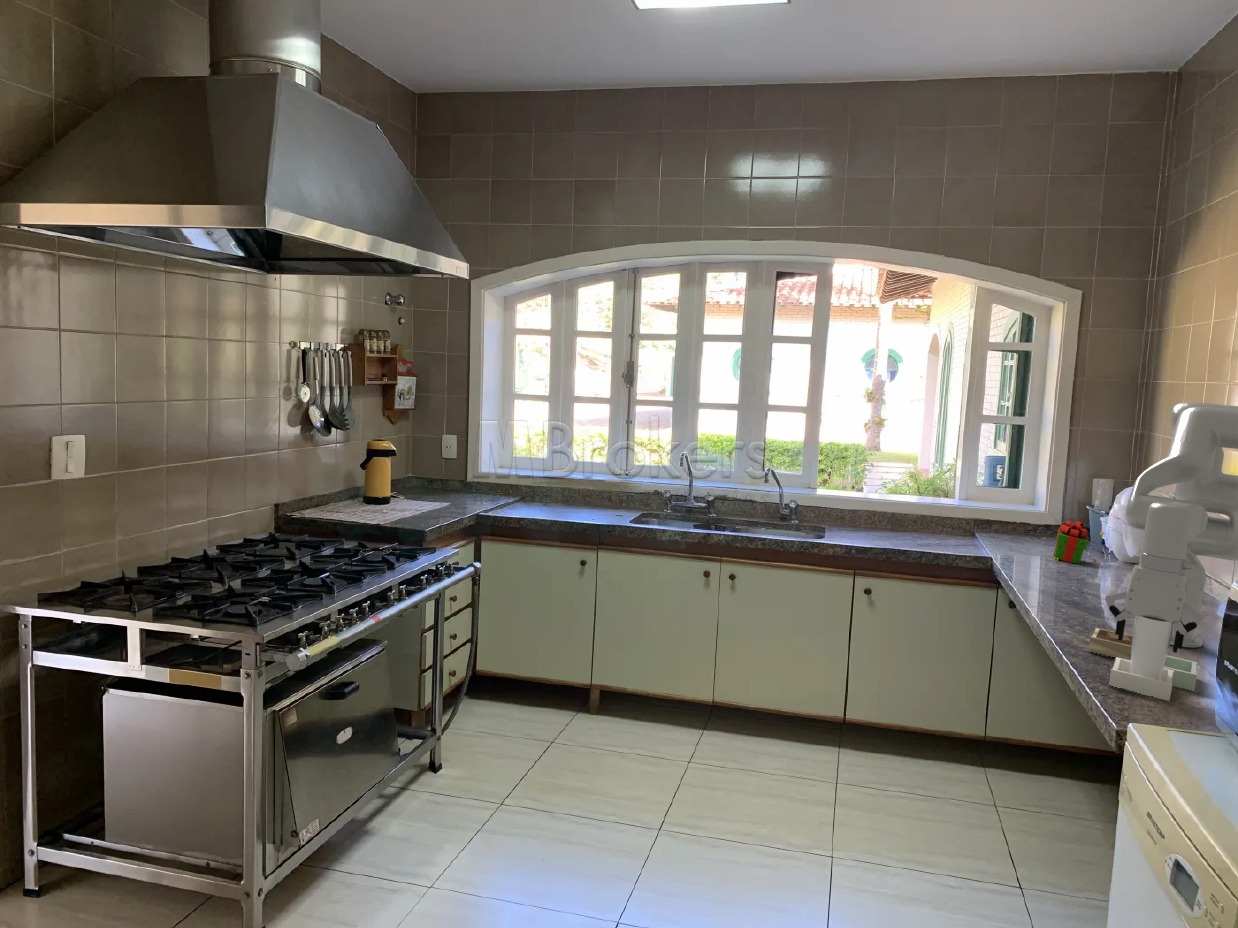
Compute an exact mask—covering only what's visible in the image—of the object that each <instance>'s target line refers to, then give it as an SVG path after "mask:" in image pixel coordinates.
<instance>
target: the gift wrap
mask: <svg viewBox="0 0 1238 928" xmlns="http://www.w3.org/2000/svg"><path fill="white" fill-rule="evenodd" d="M1083 527H1084V523H1083V522H1081V521H1078V520H1076V521H1075V522H1072V521H1071V520H1067V521H1066V522H1063V523H1062V524H1061V525H1060V526H1059V528H1058V530H1057V534H1056V543H1055V547H1054V550H1053V557H1054V558H1053V560H1054V561H1055V559H1056V561H1055V563H1057V562H1058V561H1059V560H1061V561H1062V562H1067V563H1070V564H1071V563H1072V564H1073V563H1074V564H1077V565H1079V564H1080V563H1081V559H1082V556H1083V554H1084V551H1085V550H1086V549H1087V547H1088V543H1089V539H1090V538H1089V537H1088V534H1089V533H1088V530H1087V529H1085V528H1083ZM1104 534H1106V533H1105V532H1104V531H1100V532H1099V536H1103V535H1104ZM1040 539H1041V540H1042V541H1044V540H1048V539H1047V538H1046V537H1045V536H1044V537H1043V538H1042V537H1041V538H1040ZM1097 562H1098V559H1097V558H1095V559H1093V561H1092V563H1097Z"/></svg>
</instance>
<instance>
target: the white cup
mask: <svg viewBox="0 0 1238 928" xmlns="http://www.w3.org/2000/svg"><path fill="white" fill-rule="evenodd" d="M1134 617H1135V618H1134V622H1133V626H1132V634H1131V635H1132V649H1131V664H1130V673H1132V674H1136V675H1141V676H1145V677H1149V678H1153V679H1157V680H1160V678H1161V675H1162V671H1163V667H1164V664H1165V660H1166V657H1167V656H1168V652H1169V649H1170V646H1171V645H1170V642H1171V638H1172V633H1173V625H1174V624H1173V623H1171V622H1165V621H1160V620H1155V619H1150V618H1145V617H1142V616H1136V615H1135V616H1134Z"/></svg>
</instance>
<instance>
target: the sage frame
mask: <svg viewBox="0 0 1238 928" xmlns="http://www.w3.org/2000/svg"><path fill="white" fill-rule="evenodd" d="M1163 668H1164V669H1169V670H1173V671H1174V675H1173V681H1172V683H1173V684H1172V687H1174V688H1179V689H1183V688H1185V689H1184V690H1187V689H1189V690H1188V691H1191V690H1192V692H1195V689H1196V686H1197V680H1198V673H1197V671H1198V661H1192V660H1188V659H1185V658H1179V657H1176V656H1171V655H1167V657H1166V660H1165V664H1164V667H1163Z"/></svg>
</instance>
